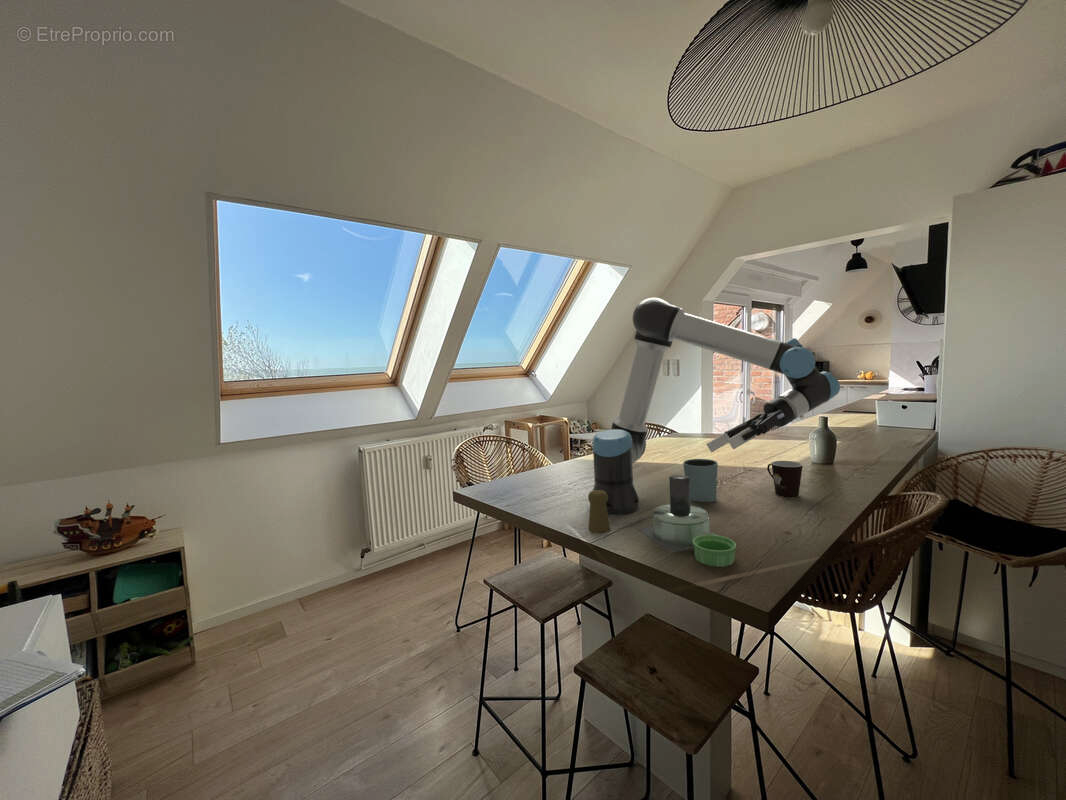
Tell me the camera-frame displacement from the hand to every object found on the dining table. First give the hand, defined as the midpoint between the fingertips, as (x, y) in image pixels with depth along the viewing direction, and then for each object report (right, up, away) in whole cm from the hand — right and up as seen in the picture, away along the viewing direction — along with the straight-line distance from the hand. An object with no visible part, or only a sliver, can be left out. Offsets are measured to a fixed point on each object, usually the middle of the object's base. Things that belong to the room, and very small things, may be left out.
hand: (719, 446), depth 120 cm
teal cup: (+3, -19, +22) cm, 29 cm away
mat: (-12, -22, -6) cm, 26 cm away
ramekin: (-9, -24, -20) cm, 32 cm away
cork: (-32, -23, +1) cm, 39 cm away
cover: (-12, -22, -6) cm, 26 cm away
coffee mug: (+31, -18, +24) cm, 43 cm away
